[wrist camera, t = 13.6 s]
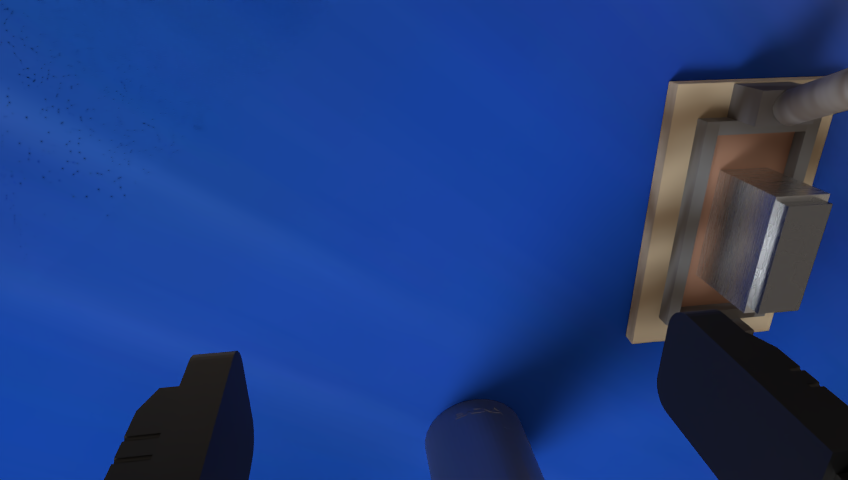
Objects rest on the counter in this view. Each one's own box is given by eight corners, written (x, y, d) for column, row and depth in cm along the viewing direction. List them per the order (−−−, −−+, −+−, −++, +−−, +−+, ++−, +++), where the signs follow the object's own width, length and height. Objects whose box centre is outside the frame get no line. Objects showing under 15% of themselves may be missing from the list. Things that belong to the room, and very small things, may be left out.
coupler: (767, 167, 43) (839, 197, 36) (740, 271, 46) (801, 314, 40) (719, 170, 42) (784, 201, 36) (696, 274, 46) (751, 319, 40)
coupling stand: (748, 362, 53) (885, 488, 40) (618, 376, 51) (717, 512, 38) (849, 12, 40) (1103, 25, 27) (680, 15, 38) (862, 31, 25)
